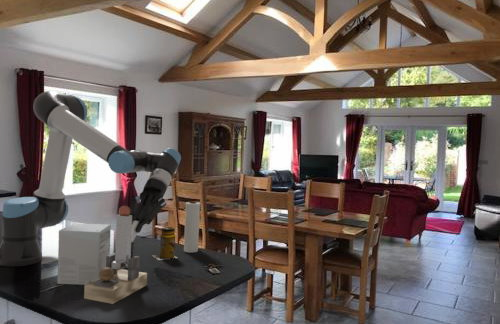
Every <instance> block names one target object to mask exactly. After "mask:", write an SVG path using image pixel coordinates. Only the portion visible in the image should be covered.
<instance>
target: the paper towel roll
mask: <svg viewBox="0 0 500 324" xmlns="http://www.w3.org/2000/svg"><path fill="white" fill-rule="evenodd" d="M200 209H201V202H197V201H188V202H185V215H184V237H183V238H184V241H183V252H185V253H189V254H190V253H197V252H198V251H199V242H200V241H199V234H200V215H201V214H200V211H201V210H200Z"/></svg>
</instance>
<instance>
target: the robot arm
mask: <svg viewBox="0 0 500 324" xmlns="http://www.w3.org/2000/svg"><path fill="white" fill-rule="evenodd" d="M32 109H33V112H34V115H35V116H36V118H37V119H38V120H40V121H41V122H42V123H43V124H45V125H46V127H48V129H49V135H48V139H47V145H46V150H45V153H44V154H45V156H44V161H43V166H42V171H41V177H40V181H39V182H40V183H39V186H38V189H36V190H35V191H33V195H32V196H22V197H15V198H11V199H7V200H6V201H5V202H4V203H3V206H2V212H1V216H2V217H1V222H2V223H1V228H2V229H1V231H2V233H1V236H2V237H1V243H0V266H1V267H10V268H11V267H12V268H13V267H25V266H30V265H31V266H32V265H34V264H37V263H38V264H39V263H40V262H42V260H43V253H42V250H41V247H40V244H39V241H38V232H39V231H38V230H40V229H41V230H42V229H45V228H48V227H49V228H51V227H54V226H56V225H59V224H61V223H62V222H64V221H65V220H66V218H67V217H68V213H69V205H68V201H67V200H66V195H65V193H64V192H63V188H64V183H65V180H66V179H65V177H66V173H67V168H68V163H69V159H70V153H71V149H72V142H73V140H74V141H75V142H76V143H78V144H79V145H81V146H83V147H84V148H85V149H86V150H88V151H89V152H91V153H93V154H94V155H96V156H97V157H99V158H100V159H101V160H103V161H104V162H106V163H107V164H108V166H109V168H110V170H111V171H112V172H113V173H115V174H123V175H125V174H127V173H128V174H129V173H139V172H147V173H150V175H149V177H148V179H147V180H146V182H145V184H144V186H143V189H142V191H141V192H140V193H139V195H137V196H136V195H132V197H131V201H132V202H131V205H130V207H129V208H130V214H129V215H132V232H131V243H134V241H135V239H136V237H137V235H138V234H140V232H141V230H142V229H143V227H144V226H145V225H150V224H151V223H152V222H153V220H154V219H155V218H156V216H157V215H158V214H159V212H160V211H161V210H162V209H163V208H164V207H165V206H167V204H168V203H167V201H166V199H165V198H164V196H165V194H166V191H167V190H168V188H169V186H170V184H171V181H172V180H173V178H174V175H175V173H176V171H177V169H178V168H179V165H180V163H181V160H182V155H181V154H180V152H179V151H178V150H177V149H174V148H172V147H167V148H164V149H163V150H162V152H153V151H151V152H150V151H146V150H145V151H143V150H140V149H139V150H138V149H135V150H134V149H133V150H128V149H126V148H125V147H123V146H122V145H120V144H119V143H118V142H116V141H114V140H113V139H112V138H110V137H109V136H107V135H106V134H104V133H103V132H101V131H99V130H98V129H97V128H95V127H94V126H92V125H91V124H90V123H87V121H86V119H87V117H88V107H87V104H86V103H85V102H84V100H83V99H82V98H80V97H79V96H76V95H72V94H67V93H61V92H57V91H50V90H49V91H44V92H41V93H40V94H38V96H37V97H35V99H34V101H33V107H32Z"/></svg>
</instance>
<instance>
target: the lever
mask: <svg viewBox="0 0 500 324" xmlns="http://www.w3.org/2000/svg"><path fill="white" fill-rule="evenodd" d="M130 208H131V207H129V206H128V205H122V206H120V207H119V209H118V214H116V224H115V229H116V230H115V251H114V253H115V261H113V262H112V269H117V271H118V270H121V269H124V270H125V268H128V259H130V258H132V257H131V256H132V255H131V254H132V253H131V252H132V242H131V232H132V215H129V214H130Z"/></svg>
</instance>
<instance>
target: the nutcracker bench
mask: <svg viewBox="0 0 500 324" xmlns="http://www.w3.org/2000/svg"><path fill="white" fill-rule="evenodd" d="M113 261H115V252H113V253H110V255H108V256H106V267H105V268H103V269H102V270H101V271H100V279H97V280H95V281H93V282H91V283H88V284H86V285H83V286H84V293H83V298H84V300H91V301H95V302H100V303H106V304H111V305H113V304H115V303H117V302H119V301H121V300H123V299H124V298H126V297H128V296H130V295H132V294H133V293H136V292H137V291H139V290H140V289H142V288H144V287H146V286H147V285H148V273H147V272H142V271H140V256H138V255H135V256H132V257H131V258H130V259H128V267H127V269H125V268H124V269H121V270H118V269H112V262H113Z"/></svg>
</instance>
